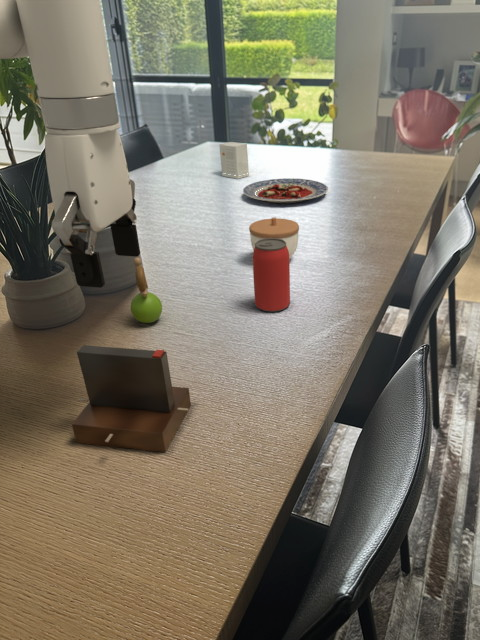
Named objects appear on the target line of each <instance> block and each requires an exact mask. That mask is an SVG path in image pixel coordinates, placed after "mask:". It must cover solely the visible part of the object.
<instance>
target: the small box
mask: <svg viewBox="0 0 480 640" xmlns="http://www.w3.org/2000/svg"><path fill="white" fill-rule="evenodd" d="M219 157H220V168H221V176H222V177H226V178H230V179H231V178H232V179H236V180H239V179H242V178H243V179H244V178H246V177H248V176H250V171H249V155H248V143H244V142H243V143H242V142H235V141H228V142H224V143H219ZM223 173H226V174H223ZM247 173H248V174H247ZM228 174H231V175H228ZM243 174H245V175H243ZM234 175H236V176H234ZM239 175H241V176H239Z"/></svg>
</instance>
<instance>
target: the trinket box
mask: <svg viewBox="0 0 480 640" xmlns="http://www.w3.org/2000/svg"><path fill="white" fill-rule="evenodd" d="M248 229H249V230H248V231H249V239H250V245H251V248H252V252H253V251H254V248H255V243H256V242H257V241H259V240H261V239H266V238H277V239H282V240H284V241H285V242H286V246H287V248H288V251H289V259H291V258H292V257H293V256H294V254H295V252H296V251H297V249H298V243H299V230H300V225H299V223H298V222H296V221H295V220H292V219H288V218H277V217H271V218H265V219H260V220H257V221H254V222H252V223H250V224H249V227H248Z"/></svg>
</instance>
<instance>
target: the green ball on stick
mask: <svg viewBox="0 0 480 640" xmlns="http://www.w3.org/2000/svg"><path fill="white" fill-rule="evenodd" d="M133 263H134V266H135V273H134V274H135V281H136V285H137V288H138V290H139V293H138V294H136V295H135V296H133V298H132V300H131V302H130V312H131V314H132V316H133V318H134V319H136V320H137V321H138V322H139V323H143V324H150V323H154V322H155V321H157V320H159V319H160V317H161V315H162V312H163V303H162V301H161V300H160V298H159V297H158V296H157V295H156V294H155V293H152V292H149V291H148V289H149V286H148V281H147V277H146V273H145V269H144V267H143V265H142V263H143V261H142V259H141V258H140V255H139V256H137V257H134V258H133Z"/></svg>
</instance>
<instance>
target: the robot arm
mask: <svg viewBox="0 0 480 640" xmlns="http://www.w3.org/2000/svg"><path fill="white" fill-rule="evenodd" d="M101 4H102V3H101V0H0V60H9V59H21V58H29V63H30V67H31V71H32V76H33V81H34V86H35V90H36V93H37V94H36V95H37V97H38V102H39V106H40V112H41V116H42V119H43V120H42V121H43V124H44V129H45V133H46V134H44V153H45V162H46V171H47V179H48V183H49V190H50V195H51V196H50V197H51V200H52V205H53V211H54V217H53V219H52V221H51V229H52V230H53V232H54V233H55V234H56V236H57V238H58V241H59V243H60V245H61V246H62V247H63V248H65V252H66V253H67V254H69V256H70V260H71V264H72V268H73V272H74V277H75V282H76V284H77V286H78V287H88V288H98V289H99V288H103V287H104V286H105V285H106V281H105V276H104V272H103V266H102V261H101V257H100V252H98V251H95V249H96V243H97V237H98V232H101V231H102V230H104V229H106V228H108V227H110V231H111V236H112V241H113V247H114V252H115V255H116V256H118V257H119V256H120V257H121V256H122V257H134V258H137V257H138V256H139V257H140V255H141V248H140V242H139V236H138V230H137V224H136V223H137V215H136V213H135V211H136V210H135V209H136V206H137V201H136V199H135V194H136V183H135V180H133V179H131V178H130V174H129V169H128V163H127V159H126V153H125V150H124V146H123V142H122V138H121V135H120V131H119V130H120V128H121V123H120V122H121V121H120V118H119V117H120V116H119V110H118V105H117V99H116V98H117V97H116V93H115V86H114V85H115V84H114V81H113V80H114V79H113V73H112V68H111V60H110V54H109V49H108V41H107V37H106V30H105V23H104V17H103V11H102V6H101ZM79 234H86V235H85V240H84V239H83V238H82V237H81V236H80V235H79Z"/></svg>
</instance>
